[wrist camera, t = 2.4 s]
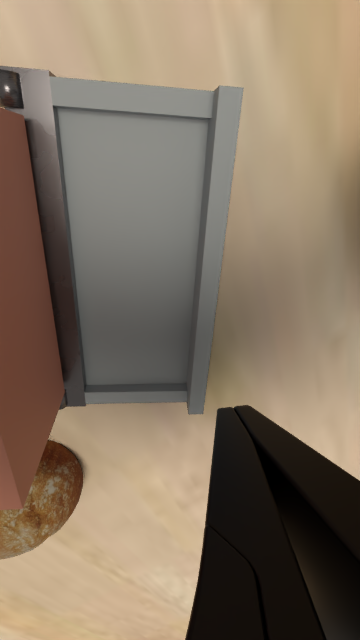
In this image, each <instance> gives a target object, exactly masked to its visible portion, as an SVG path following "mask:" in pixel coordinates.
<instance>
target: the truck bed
mask: <svg viewBox="0 0 360 640" xmlns="http://www.w3.org/2000/svg"><path fill="white" fill-rule="evenodd" d="M49 78H50V87H51V96H52V105H53V106H55V107H56V108H57V109H58V118H59V128H60V137H61V147H62V156H63V166H64V175H65V185H66V194H67V204H68V213H69V223H70V232H71V242H72V251H73V261H74V270H75V280H76V289H77V299H78V308H79V318H80V327H81V337H82V346H83V356H84V365H85V375H86V384H87V385H86V389H85V392H84V393H85V402H86V404H107V403H158V402H187V408H188V414H203V411H204V403H205V394H206V386H207V378H208V370H209V362H210V354H211V346H212V338H213V330H214V322H215V314H216V306H217V298H218V290H219V282H220V273H221V265H222V257H223V249H224V241H225V233H226V225H227V217H228V209H229V201H230V193H231V185H232V177H233V169H234V161H235V152H236V144H237V136H238V128H239V120H240V112H241V104H242V96H243V88H241V87H230V86H219V87H218V88H217V89H216V90H215V91H206V90H195V89H184V88H173V87H162V86H151V85H140V84H128V83H117V82H106V81H95V80H84V79H73V78H62V77H51V76H49Z"/></svg>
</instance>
